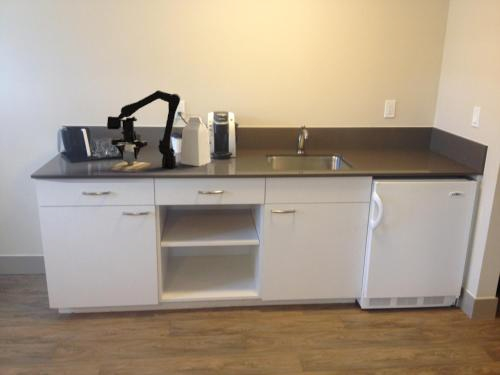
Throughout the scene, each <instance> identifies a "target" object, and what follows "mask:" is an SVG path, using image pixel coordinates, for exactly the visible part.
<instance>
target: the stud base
mask: <svg viewBox="0 0 500 375" xmlns="http://www.w3.org/2000/svg"><path fill="white" fill-rule="evenodd" d="M151 166H152V163H151V162H143V161H142V162H141V161H134V162H125V161H124V160H123V161H121V162H119V163H115V164H113V165H110V166H109V171H110V170H112V171H119V172H121V171H122V172H127V173H129V172H131V173H138V172H141V171H143V170H145V169H147V168H150V167H151Z"/></svg>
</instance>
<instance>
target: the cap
mask: <svg viewBox="0 0 500 375" xmlns="http://www.w3.org/2000/svg"><path fill="white" fill-rule="evenodd" d="M122 159H123V161H125V162H138V158H137V159H135V155H134V150H125V151H123V157H122Z"/></svg>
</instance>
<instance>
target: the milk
mask: <svg viewBox="0 0 500 375" xmlns="http://www.w3.org/2000/svg"><path fill="white" fill-rule="evenodd" d="M181 132H182V133H181V138H182V139H181V164H182V165H189V166H196V167H201V166H203V165H207V164H210V163H211V149H210V135H209V134H210V133H209V129H208V127H207V126H206V125H205V123H204V122H203V121H202V118H201V116H193V115H192V116H189V118H188V121H187V123H186V124H185V126H184V127H183V129H182V131H181Z"/></svg>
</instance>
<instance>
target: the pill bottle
mask: <svg viewBox="0 0 500 375" xmlns="http://www.w3.org/2000/svg"><path fill="white" fill-rule="evenodd" d="M127 143H128V142H127ZM133 147H136V146H135V145H131V144H125V150H134V148H133Z"/></svg>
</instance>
